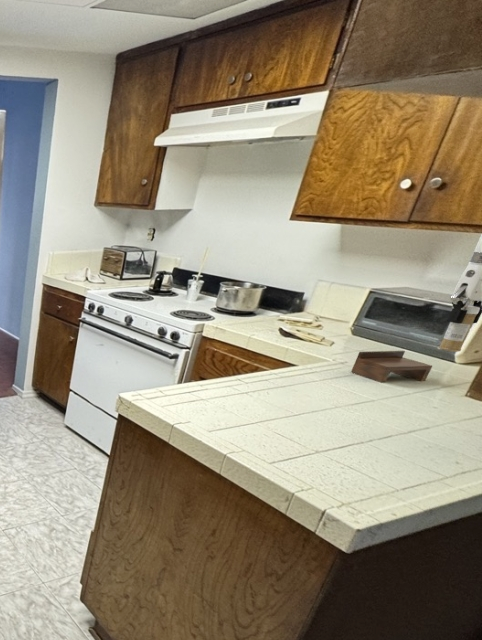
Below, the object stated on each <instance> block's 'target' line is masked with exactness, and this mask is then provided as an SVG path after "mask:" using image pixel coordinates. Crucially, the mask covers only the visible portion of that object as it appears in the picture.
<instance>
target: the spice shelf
mask: <svg viewBox="0 0 482 640" xmlns="http://www.w3.org/2000/svg"><path fill="white" fill-rule="evenodd" d="M405 352H406V351H405V350H370V351H359V352H358V355H357V356H356V359H355V361H354V364H353V366H352V368H351V371H350V373H351V372H352V373H351V374H354V373H355V375H357V376H360V377H364V378H367V379H369V380H373V381H376V382H379V383H386V382H387V379H388V377H389V376H390V373H393V374H397V375H400V376H403V377H407V378H410V379H413V380H415V381H419V382H425V381H426V380H427V378H428V377H429V375H430V372H431V370H432V368H433V365H432V364H428V363H424V362H421V361H417V360H413V359H410V358H406V357H404V355H405V354H406V353H405Z"/></svg>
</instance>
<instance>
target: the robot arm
mask: <svg viewBox="0 0 482 640" xmlns="http://www.w3.org/2000/svg"><path fill="white" fill-rule="evenodd" d="M467 263H468V264H467V265H466V268H465V269H464V271H463V273H461V276H460V277H459V280H458V282H457V283H456V285H455V287H454V290H453V293H452V295H451V296H450V297H449V301H450V302H451V304H452V306H451V311H450V314H449V316H448V318H447V322H448V323H450V322H453V323H458V324H461V323H462V322H463V319H464V317H465V315H466V313H467V311H468V310H466V309H467V307H468V306H475V307H479V308H480V310H479V312H478V314H477V315H476V316H475V319H474V321H473V324H478V322H479V320H480V318H481V316H482V233H481V234H480V237H479V239H478V241H477V243H476V246H475V248H474V250H473V252H472V255H471V257H470V259H469V262H467ZM470 304H471V305H470Z"/></svg>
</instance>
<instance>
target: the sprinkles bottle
mask: <svg viewBox="0 0 482 640" xmlns="http://www.w3.org/2000/svg"><path fill="white" fill-rule="evenodd" d="M466 310H468V311H467V313H466V315H465V317H464V319H463V322H462V323H461V324H458V323H453V322H449V324H448V326H447V329H446V331H445V333H444V336H443V339H442V341H441V343H440V345H439V347H438V349H439V350H442V351H446V352H461V351H462V348H463V346H464V343H465V341H466V340H467V338H468V335H469V333H470V330H471V328H472V326H473V324H474V323H473V321H474V319H475V316H476V315H477V314H478V312H479V310H480V308H479V307H475V306H471V305H469V306H468V307H467V309H466Z"/></svg>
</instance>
